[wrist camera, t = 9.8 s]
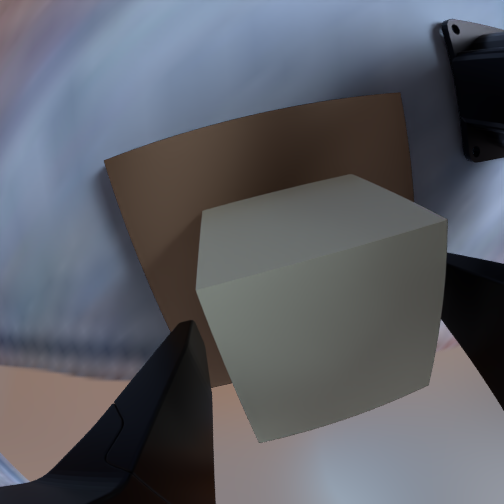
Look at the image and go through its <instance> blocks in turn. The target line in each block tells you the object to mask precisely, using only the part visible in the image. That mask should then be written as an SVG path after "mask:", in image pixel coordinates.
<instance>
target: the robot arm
mask: <svg viewBox="0 0 504 504" xmlns="http://www.w3.org/2000/svg"><path fill="white" fill-rule="evenodd" d="M452 28H453V30H454V32H453V30H452ZM442 30H443V34H444V38H445V42H446V46H447V50H448V54H449V58H450V63H451V67H452V72H453V77H454V83H455V88H456V94H457V100H458V107H459V114H460V122H461V131H462V141H463V152H464V156H465V158H466V159H467V160H468V161H472V162H482V161H488V160H493V159H498V158H504V30H502V29H498V28H494V27H490V26H486V25H481V24H477V23H472V22H467V21H461V20H456V19H449V20H446V21H444V22H443V23H442ZM473 148H474V153H473ZM441 319H442V321H443V322H444V324H445V325H446V327H447V328H448V329H449V331H450V332H451V333H452V335H453V336H454V337H455V339H456V340H457V341H458V343H459V344H460V346H461V347H462V348H463V350H464V351H465V353H466V354H467V355H468V357H469V358H470V360H471V361H472V363H473V364H474V366H475V367H476V368H477V370H478V371H479V373H480V374H481V376H482V377H483V379H484V380H485V382H486V383H487V385H488V386H489V388H490V390H491V391H492V393H493V394H494V396H495V397H496V399H497V400H498V402H499V404H500V405H501V407H502V409H503V410H504V264H502V263H498V262H493V261H488V260H483V259H478V258H473V257H468V256H462V255H457V254H452V253H447V257H446V273H445V285H444V296H443V305H442V313H441ZM114 403H115V404H112V405H111V406H110V407H109V409H108V410H107V411H106V412H105V413H104V415H103V416H102V417H101V418H100V419H99V420H98V422H97V423H96V424H95V425H94V426H93V427H92V428H91V430H90V431H89V432H88V433H87V434H86V435H85V436H84V437H83V438H82V439H81V440H80V441H79V442H78V443H77V444H76V445H75V446H74V447H73V448H72V449H71V450H70V451H69V452H68V454H67V455H65V456H64V457H63V459H61V461H60V462H59V463H58V464H57V465H56V466H55V467H54V468H53V469H52V470H51V471H49V472H48V473H47V474H46V475H44V476H43V477H41V478H39V479H37V480H35V481H32V482H28V483H23V484H17V485H10V486H3V487H0V504H216V501H215V481H214V480H215V479H214V451H213V413H212V391H211V384H210V377H209V370H208V362H207V355H206V348H205V344H204V342H203V339H202V337H201V335H200V332H199V330H198V327H197V325H196V323H195V321H194V320H188V321H184V322H180V323H178V325H177V326H176V327H175V328H174V329H173V331H172V332H171V333H170V334H169V335H168V337H167V338H166V339H165V340H164V341H163V343H162V344H161V345H160V346H159V348H158V349H157V350H156V351H155V352H154V354H153V355H152V356H151V357H150V358H149V360H148V361H147V362H146V363H145V365H144V366H143V367H142V368H141V369H140V371H139V372H138V373H137V374H136V376H135V377H134V378H133V379H132V380H131V382H130V383H129V384H128V385H127V387H126V388H125V389H124V390H123V391H122V393H121V394H120V395H119V396H118V398H117V399H116V400H115V401H114Z"/></svg>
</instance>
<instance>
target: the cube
mask: <svg viewBox="0 0 504 504" xmlns="http://www.w3.org/2000/svg"><path fill="white" fill-rule="evenodd" d="M447 228H448V220H447V219H445V218H444V217H442V216H440V215H438V214H436V213H434V212H432V211H430V210H428V209H426V208H424V207H422V206H420V205H418V204H416V203H414V202H412V201H410V200H408V199H406V198H404V197H402V196H400V195H398V194H395V193H393V192H391V191H389V190H387V189H385V188H383V187H380V186H378V185H376V184H374V183H371V182H369V181H367V180H365V179H362V178H360V177H358V176H355V175H353V174H348V175H344V176H339V177H335V178H330V179H326V180H322V181H317V182H313V183H309V184H304V185H300V186H296V187H292V188H288V189H284V190H279V191H275V192H271V193H267V194H263V195H260V196H256V197H252V198H248V199H244V200H240V201H236V202H233V203H229V204H225V205H221V206H218V207H214V208H211V209H207V210H203V211H202V220H201V231H200V242H199V253H198V265H197V278H196V293H197V295H198V298H199V301H200V303H201V306H202V309H203V311H204V314H205V316H206V319H207V322H208V324H209V327H210V329H211V332H212V334H213V337H214V339H215V342H216V344H217V347H218V349H219V352H220V354H221V357H222V359H223V362H224V364H225V367H226V369H227V371H228V374H229V376H230V379H231V381H232V383H233V386H234V388H235V390H236V393H237V395H238V397H239V400H240V402H241V404H242V406H243V409H244V411H245V413H246V415H247V418H248V420H249V422H250V424H251V427H252V429H253V431H254V433H255V435H256V437H257V440H258V442H259V443H263V442H267V441H271V440H275V439H280V438H284V437H288V436H291V435H295V434H298V433H302V432H306V431H309V430H313V429H316V428H319V427H323V426H326V425H329V424H332V423H336V422H338V421H341V420H344V419H347V418H350V417H353V416H356V415H359V414H362V413H364V412H367V411H370V410H372V409H375V408H377V407H380V406H382V405H385V404H387V403H390V402H392V401H395V400H397V399H399V398H402V397H404V396H406V395H408V394H411V393H413V392H415V391H417V390H419V389H422V388H424V387H426V386H428V385H429V381H430V377H431V372H432V368H433V363H434V357H435V352H436V346H437V340H438V334H439V328H440V321H441V313H442V305H443V296H444V285H445V273H446V257H447Z"/></svg>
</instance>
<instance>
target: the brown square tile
mask: <svg viewBox="0 0 504 504" xmlns="http://www.w3.org/2000/svg"><path fill="white" fill-rule="evenodd" d="M104 163H105V166H106V169H107V173H108V176H109V179H110V182H111V185H112V188H113V191H114V194H115V197H116V200H117V203H118V205H119V208H120V211H121V214H122V217H123V219H124V222H125V225H126V228H127V230H128V233H129V236H130V238H131V241H132V243H133V246H134V248H135V251H136V254H137V256H138V259H139V261H140V264H141V266H142V268H143V271H144V273H145V276H146V278H147V280H148V283H149V285H150V287H151V290H152V292H153V294H154V297H155V299H156V301H157V303H158V306H159V308H160V310H161V312H162V315H163V317H164V319H165V321H166V323H167V325H168V328H169V330H170V332H172V331H173V329H174V328H175V327H176V326H177V325H178V323H180V322H184V321H188V320H194V321H195V323H196V325H197V327H198V330H199V332H200V335H201V337H202V339H203V342H204V344H205V348H206V355H207V362H208V370H209V377H210V384H211V388H213V387H217V386H222V385H227V384H231V383H232V381H231V379H230V376H229V374H228V371H227V369H226V367H225V364H224V362H223V359H222V357H221V354H220V352H219V349H218V347H217V344H216V342H215V339H214V337H213V334H212V332H211V329H210V327H209V324H208V322H207V319H206V316H205V314H204V311H203V309H202V306H201V303H200V301H199V298H198V295H197V293H196V278H197V265H198V253H199V242H200V231H201V220H202V211H203V210H207V209H211V208H214V207H218V206H221V205H225V204H229V203H233V202H236V201H240V200H244V199H248V198H252V197H256V196H260V195H263V194H267V193H271V192H275V191H279V190H284V189H288V188H292V187H296V186H300V185H304V184H309V183H313V182H317V181H322V180H326V179H330V178H335V177H339V176H344V175H348V174H353V175H355V176H358V177H360V178H362V179H365V180H367V181H369V182H371V183H374V184H376V185H378V186H380V187H383V188H385V189H387V190H389V191H391V192H393V193H395V194H398V195H400V196H402V197H404V198H406V199H408V200H410V201H412V202H414V193H413V180H412V170H411V160H410V151H409V143H408V136H407V129H406V122H405V116H404V110H403V104H402V99H401V94H400V92H398V93H385V94H375V95H366V96H357V97H350V98H342V99H335V100H328V101H322V102H316V103H310V104H304V105H298V106H293V107H288V108H283V109H278V110H273V111H268V112H264V113H259V114H255V115H250V116H246V117H242V118H238V119H233V120H229V121H225V122H222V123H218V124H214V125H210V126H207V127H203V128H200V129H196V130H193V131H189V132H186V133H182V134H179V135H176V136H173V137H169V138H166V139H163V140H160V141H157V142H154V143H151V144H148V145H145V146H142V147H139V148H136V149H133V150H131V151H128V152H125V153H122V154H120V155H117V156H114V157H112V158H109V159H107V160H104Z"/></svg>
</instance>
